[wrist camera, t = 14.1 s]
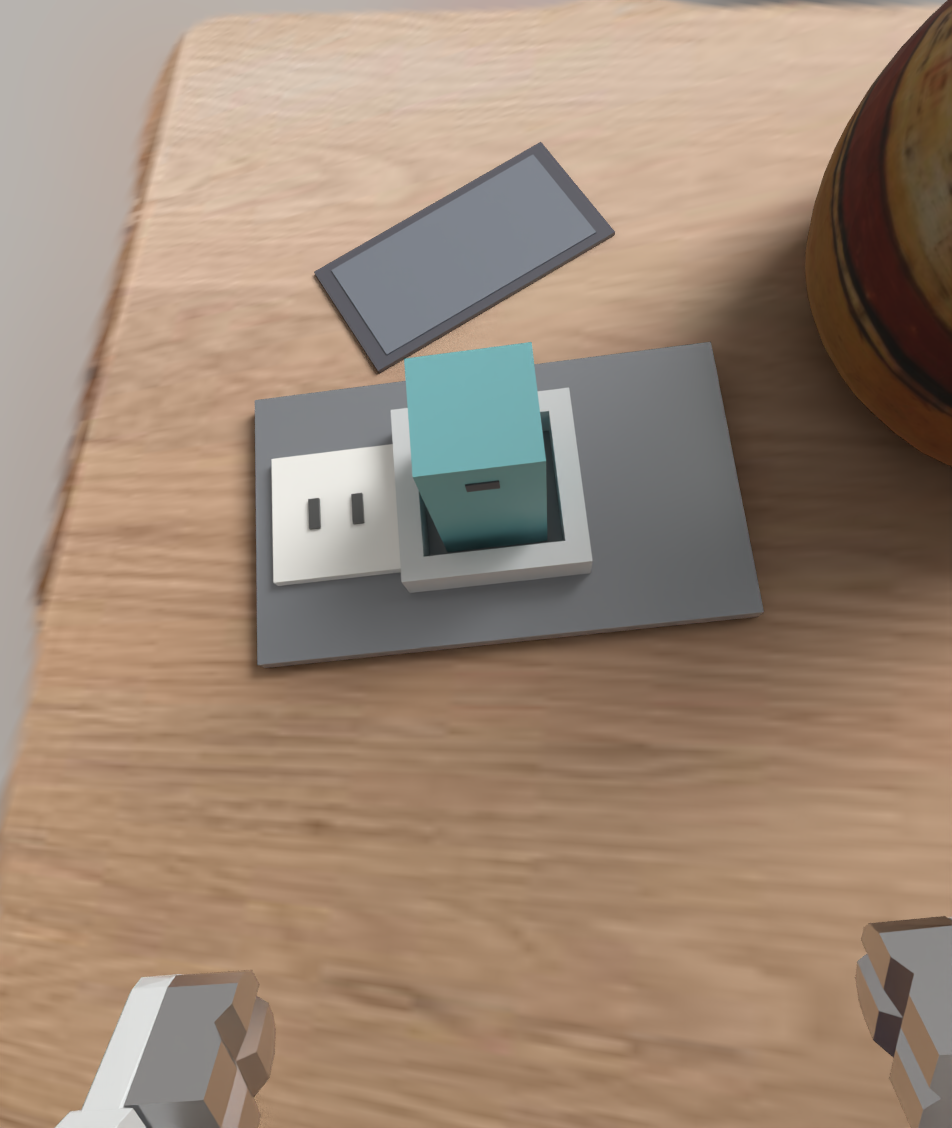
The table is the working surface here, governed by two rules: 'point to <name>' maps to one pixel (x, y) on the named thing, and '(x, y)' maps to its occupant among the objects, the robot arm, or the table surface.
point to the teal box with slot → (479, 445)
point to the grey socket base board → (514, 572)
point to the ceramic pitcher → (893, 244)
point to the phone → (462, 256)
